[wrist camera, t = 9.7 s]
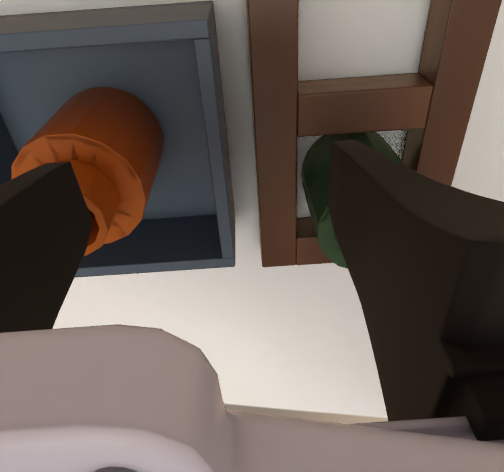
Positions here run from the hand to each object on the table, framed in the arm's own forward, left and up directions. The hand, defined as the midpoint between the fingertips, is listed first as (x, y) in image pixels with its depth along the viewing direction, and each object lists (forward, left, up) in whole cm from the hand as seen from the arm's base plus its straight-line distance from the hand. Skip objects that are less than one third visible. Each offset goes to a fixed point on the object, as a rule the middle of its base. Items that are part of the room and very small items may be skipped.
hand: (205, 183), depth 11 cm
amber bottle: (-2, +5, -9) cm, 11 cm away
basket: (-2, +5, -10) cm, 11 cm away
